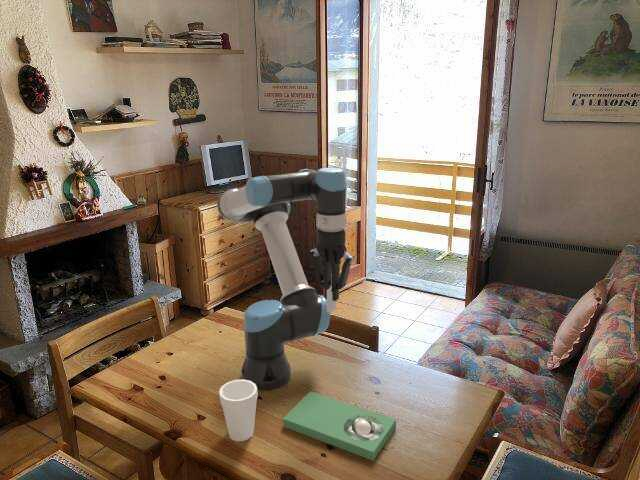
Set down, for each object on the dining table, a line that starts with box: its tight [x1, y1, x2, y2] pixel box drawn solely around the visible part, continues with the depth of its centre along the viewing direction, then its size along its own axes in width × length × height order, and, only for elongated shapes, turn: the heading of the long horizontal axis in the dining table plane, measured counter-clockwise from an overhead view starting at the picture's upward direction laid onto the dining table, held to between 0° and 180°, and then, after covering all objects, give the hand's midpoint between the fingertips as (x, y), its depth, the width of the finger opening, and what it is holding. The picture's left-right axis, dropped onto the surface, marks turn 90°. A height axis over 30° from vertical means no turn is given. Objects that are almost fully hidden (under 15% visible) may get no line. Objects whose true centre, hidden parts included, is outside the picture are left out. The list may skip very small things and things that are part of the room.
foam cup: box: [218, 378, 259, 442], centre depth 133 cm, size 10×9×13 cm
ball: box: [354, 420, 372, 435], centre depth 133 cm, size 4×4×4 cm
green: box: [282, 391, 397, 461], centre depth 136 cm, size 26×14×2 cm, turn 60°
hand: (331, 310), depth 143 cm, fingers closed
